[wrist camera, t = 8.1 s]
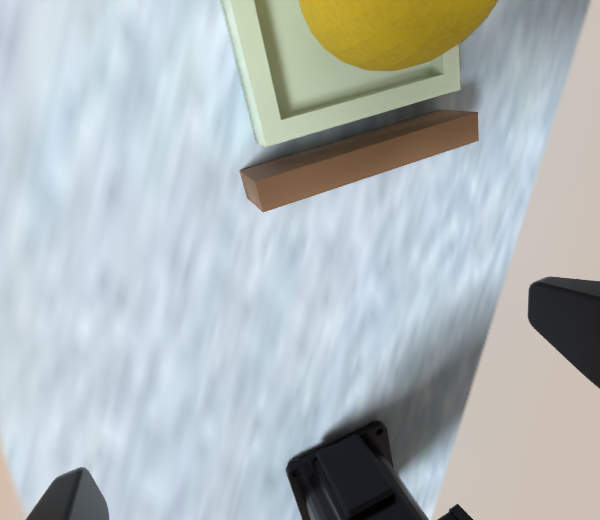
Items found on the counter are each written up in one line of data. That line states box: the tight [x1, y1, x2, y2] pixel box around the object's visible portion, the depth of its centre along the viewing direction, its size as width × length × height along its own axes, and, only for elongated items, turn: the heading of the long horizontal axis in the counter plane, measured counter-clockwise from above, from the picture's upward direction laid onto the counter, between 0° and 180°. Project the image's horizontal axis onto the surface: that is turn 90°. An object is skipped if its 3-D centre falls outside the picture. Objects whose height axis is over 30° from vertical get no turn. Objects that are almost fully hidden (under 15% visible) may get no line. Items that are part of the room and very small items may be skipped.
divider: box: [240, 110, 479, 212], centre depth 18 cm, size 1×10×2 cm, turn 104°
